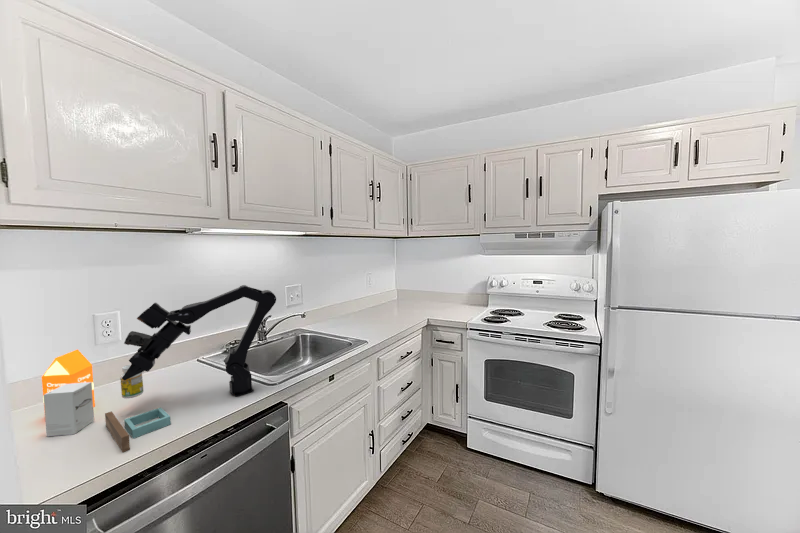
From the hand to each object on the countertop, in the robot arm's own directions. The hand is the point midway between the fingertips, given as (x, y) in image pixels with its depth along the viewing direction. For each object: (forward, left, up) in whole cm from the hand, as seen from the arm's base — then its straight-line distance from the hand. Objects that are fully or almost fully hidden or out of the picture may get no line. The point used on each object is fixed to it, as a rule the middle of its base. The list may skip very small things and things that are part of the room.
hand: (125, 376), depth 101 cm
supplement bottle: (-1, 0, -7) cm, 7 cm away
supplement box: (+13, -2, -13) cm, 18 cm away
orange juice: (+13, -14, -13) cm, 23 cm away
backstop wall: (+4, +14, -13) cm, 19 cm away
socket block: (-3, +13, -13) cm, 18 cm away
